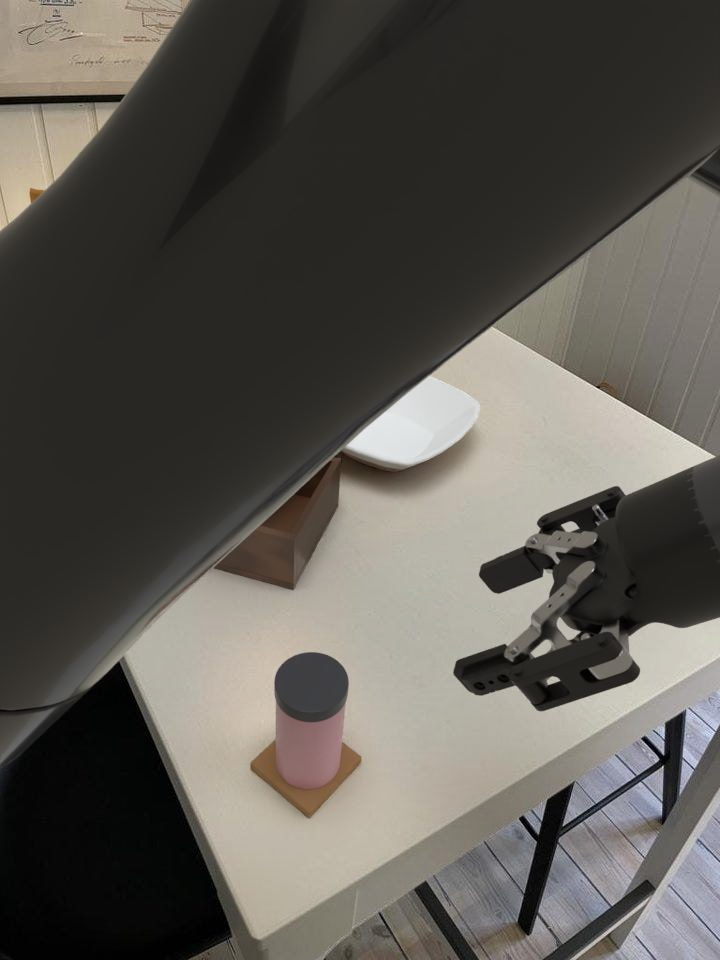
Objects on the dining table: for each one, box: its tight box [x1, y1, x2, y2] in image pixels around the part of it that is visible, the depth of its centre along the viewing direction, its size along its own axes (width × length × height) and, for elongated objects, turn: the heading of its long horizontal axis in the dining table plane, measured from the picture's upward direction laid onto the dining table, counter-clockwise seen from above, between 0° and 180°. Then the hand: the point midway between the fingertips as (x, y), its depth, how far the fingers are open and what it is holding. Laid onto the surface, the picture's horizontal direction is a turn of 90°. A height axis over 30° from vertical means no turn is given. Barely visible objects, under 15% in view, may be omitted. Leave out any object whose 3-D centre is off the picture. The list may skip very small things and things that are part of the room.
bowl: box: [339, 375, 481, 473], centre depth 98 cm, size 22×22×5 cm
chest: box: [213, 456, 342, 590], centre depth 82 cm, size 14×15×7 cm
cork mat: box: [249, 738, 362, 819], centre depth 61 cm, size 6×6×1 cm
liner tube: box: [273, 651, 350, 789], centre depth 58 cm, size 5×5×10 cm
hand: (475, 626), depth 47 cm, fingers open, 8 cm apart
